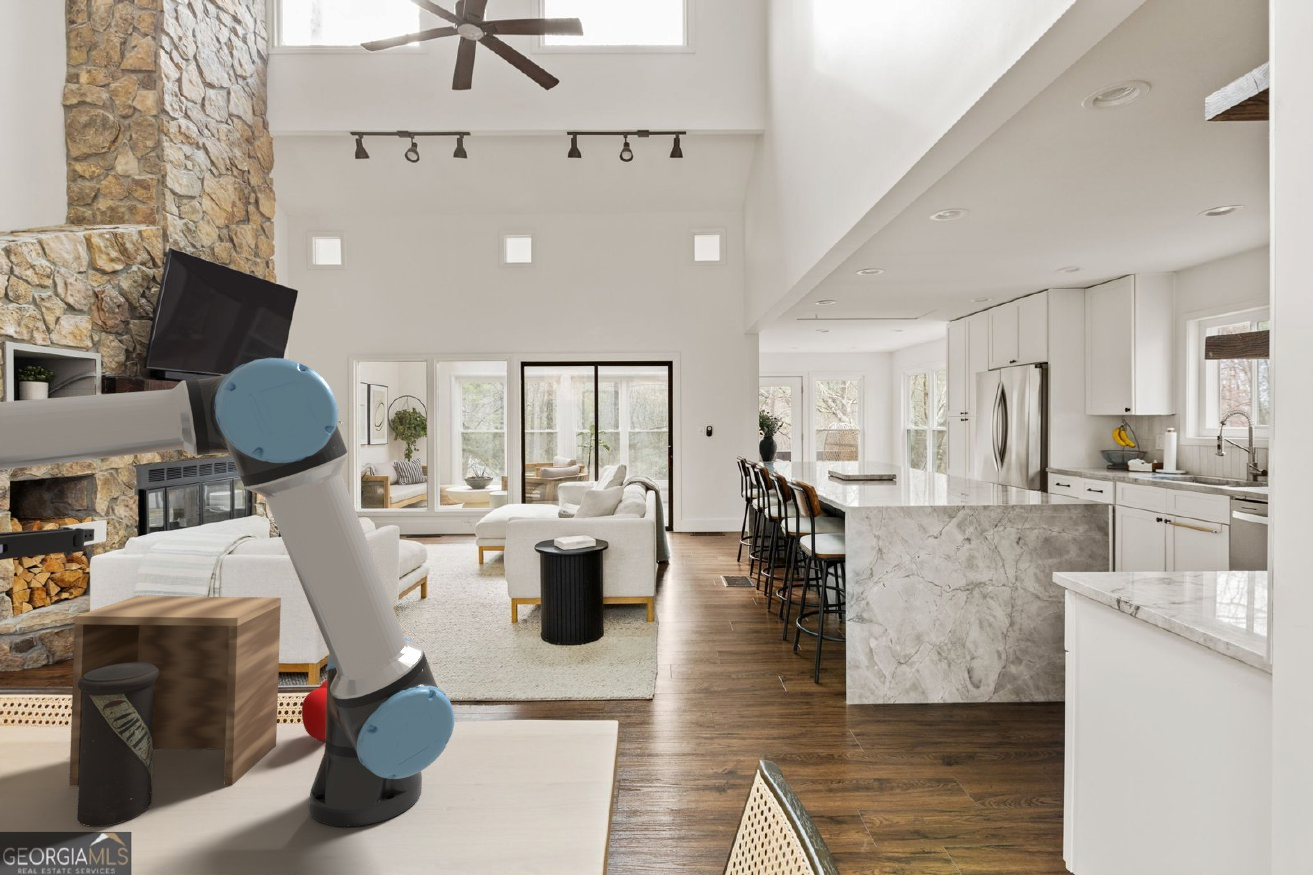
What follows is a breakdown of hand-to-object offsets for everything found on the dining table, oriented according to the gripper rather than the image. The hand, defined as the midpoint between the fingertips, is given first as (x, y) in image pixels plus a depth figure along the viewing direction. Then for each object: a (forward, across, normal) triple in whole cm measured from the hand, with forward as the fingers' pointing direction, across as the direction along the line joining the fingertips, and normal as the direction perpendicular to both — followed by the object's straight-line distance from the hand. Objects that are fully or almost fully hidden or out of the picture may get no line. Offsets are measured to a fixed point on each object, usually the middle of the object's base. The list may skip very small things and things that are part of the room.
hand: (48, 529), depth 87 cm
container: (+7, +5, -40) cm, 41 cm away
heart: (+29, +24, -40) cm, 55 cm away
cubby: (+20, +5, -40) cm, 45 cm away
